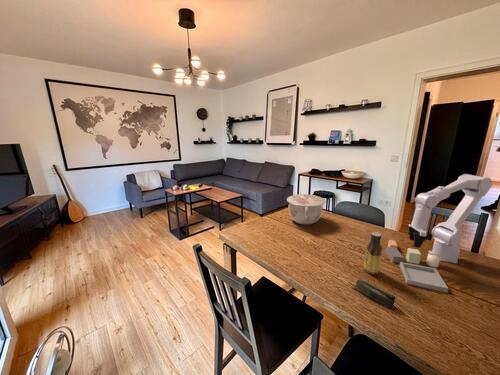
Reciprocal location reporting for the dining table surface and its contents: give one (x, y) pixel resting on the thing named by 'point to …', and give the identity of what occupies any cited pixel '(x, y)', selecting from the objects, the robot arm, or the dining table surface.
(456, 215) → the robot arm
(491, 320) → the dining table surface
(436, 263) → the cream round brick
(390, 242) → the terracotta slim brick
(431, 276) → the grey tray
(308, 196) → the chamber pot
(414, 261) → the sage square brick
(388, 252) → the grey rectangular block
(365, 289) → the dark grey bar
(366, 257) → the sauce bottle
